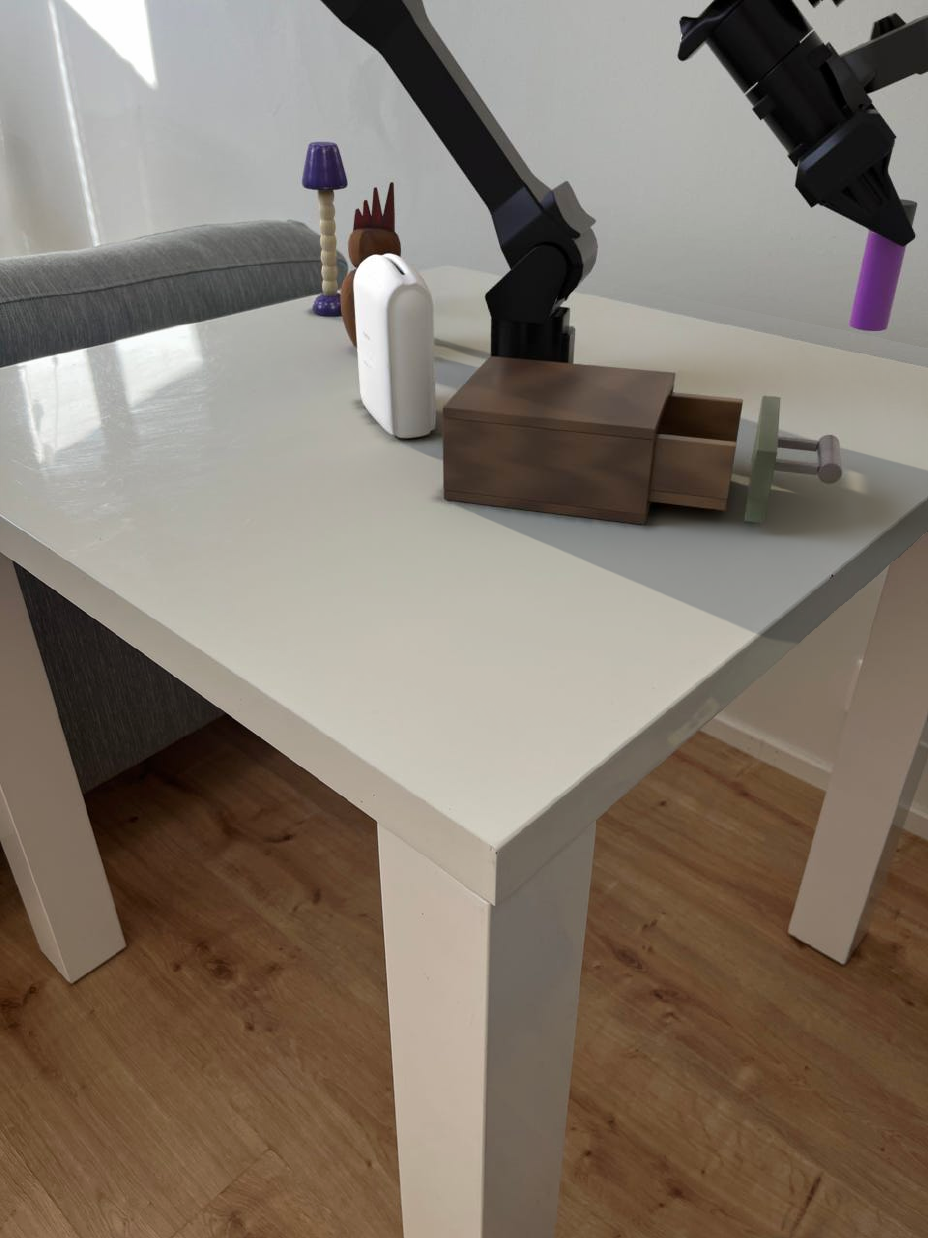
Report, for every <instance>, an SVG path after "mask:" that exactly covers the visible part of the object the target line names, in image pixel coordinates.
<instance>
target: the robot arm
mask: <svg viewBox="0 0 928 1238" xmlns="http://www.w3.org/2000/svg"><path fill="white" fill-rule="evenodd" d="M319 1H320V2H321V3H322V4H323V5H324V6H325V7H326V8H327V10H329V11H330V12H331V13H332V14H333V15H334V16H335V17H336V18H337V20H338V21H340V22H341V23H342V24H343V25H344V26H345V27H347V28H348V29H349V30H350V31H352V32H353V33H354V34H355V35H357V36H358V37H359V38H361V39H362V40H363V41H364V42H365V43H367V44H368V45H369V46H371V47H372V48H373V49H375V50H376V51H377V52H378V53H379V55H380V56H381V57H382V58H383V59H384V61H385V62H386V64H387V65H388V66H389V69H391V71H392V73H393V74H394V75H395V77H396V78H397V79H398V81H399V82H400V84H401V85H402V87H403V88H404V90H405V91H406V93H407V94H408V96H409V97H410V98H411V99H412V102H413V103H414V104H415V105H416V107H417V108H418V110H419V111H420V113H421V114H422V115H423V117H424V118H425V120H426V121H427V123H428V124H429V126H430V127H431V129H432V130H433V131H434V133H435V134H436V135H437V137H438V138H439V140H440V141H441V143H442V144H443V145H444V147H445V148H446V150H447V151H448V153H449V154H450V156H451V157H452V158H453V160H454V162H455V163H456V164H457V166H458V167H459V169H460V170H461V172H462V173H463V175H464V176H465V178H466V179H467V181H468V182H469V183H470V185H471V186H472V187H473V189H474V190H475V192H476V193H477V194H478V196H479V198H480V199H481V200H482V202H483V204H485V206H486V208H487V209H488V212H489V214H490V218H491V221H492V223H493V227H494V230H495V234H496V237H497V241H498V244H499V248H500V250H501V253H502V255H503V257H504V259H505V261H506V263H507V265H508V267H509V269H510V270H509V271H507V273H505V275H504V276H502V277H501V278H500V279H499V280H498V281H497V282H496V283H495V284H494V285H493V286H491V288H490V289H489V290H488V291H487V292H486V293H485V295H484V300H485V303H486V306H487V310H488V312H489V315H490V356H493V357H504V358H515V359H527V360H538V361H549V362H561V363H572V364H574V360H575V346H576V345H575V344H576V327H575V326H573V325H570V321H571V320H570V317H571V307H569V306H568V307H567V306H561V305H563V304H564V303H565V302H567V301H568V300H569V298H570V295H571V294H572V293H573V292H574V291H575V290H576V289H577V288H578V287H579V286H580V285H581V284H582V282H583V281H584V280H585V279H586V278H587V277H588V276H589V275H590V273H591V272H592V270H593V268H594V266H595V264H596V262H597V257H598V248H599V245H598V239H597V237H596V234H595V232H594V230H593V229H592V227H593V226H594V225H595V224H596V223H597V220H596V218H595V217H593V216H591V215H590V214H588V213H587V212H586V211H585V210H584V208H583V207H582V205H581V203H580V202H579V200H578V198H577V195H576V192H575V191H574V188H573V187H572V185H571V183H570V182H569V181H568V180H565V181H563V182H562V183H560V184H559V185H557V186H556V187H554V188H552V189H551V187H549V186H548V185H547V184H546V183H544V182H542V181H541V180H540V179H539V178H538V177H537V176H535V174H534V173H533V172H532V171H531V169H530V167H528V165H527V164H526V163H527V162H525V160H524V159H523V158H522V156H521V154H520V153H519V151H518V150H517V149H516V147H515V146H514V143H513V142H512V141H511V140H510V138H509V137H508V135H507V134H506V132H505V131H504V130H503V127H502V126H501V125H500V123H499V122H498V120H497V119H496V117H495V116H494V114H493V113H492V112H491V110H490V109H489V107H488V105H487V104H486V103H485V101H484V100H483V98H482V96H481V95H480V94H479V92H478V91H477V89H476V87H475V86H474V85H473V83H472V82H471V81H470V79H469V77H468V76H467V75H466V73H465V72H464V70H463V69H462V67H461V66H460V64H459V62H458V61H457V59H456V58H455V56H454V55H453V54H452V52H451V50H450V49H449V48H448V46H447V45H446V44H445V42H444V40H443V39H442V37H441V36H440V34H439V32H438V31H437V30H436V29H435V27H434V26H433V24H432V22H431V20H430V19H429V17H428V15H427V12H426V8H425V4H424V1H423V0H319ZM807 1H808V3H809V4H810V6H811V7H812V8H813V9H815V8H816V7H818V6H819V5H820V4H821V2H824V0H807ZM845 1H846V0H831V2H832V3H833V5H834V6H835V8H838V7H839V6H840V5H842V4H843V3H844V2H845ZM678 23H679V28H680V29H679V30H680V39H679V46H678V51H677V59H678V60H679V61H680V62H686V61H688V60H690V59H691V58H693V57H694V56H695V55H696V54H697V53H698V52H699V51H700V49H702V48H703V47H704V46H705V45H706V46H707V48H709V49H710V51H711V52H712V54H713V55H714V56H715V58H716V59H717V60H718V61H719V63H720V64H721V65H722V67H723V69H725V71H726V72H727V74H728V75H729V76H730V77H731V79H732V80H733V81H734V83H735V84H736V85H737V87H738V88H739V89H740V90H741V92H742V93H743V94H744V96H745V97H746V99H747V101H748V102H749V103H750V104H751V105H752V108H751V110H752V111H753V113H754V114H755V115H756V116H757V118H758V119H759V121H762V120H763V122H764V123H765V124H766V126H767V127H768V128H769V129H770V131H771V132H772V133H773V135H774V136H775V137H776V138H777V140H778V141H779V143H780V144H781V145H782V146H783V148H784V149H785V151H786V152H787V158H788V159H789V161H791V163H792V164H793V166H794V167H795V168H796V173H795V179H794V187H795V188H796V190H797V191H798V193H800V195H801V196H802V198H803V200H804V201H805V202H806V203H807V204H808V205H809V207H810V208H811V209H813V208H814V207H815V206H817V205H819V206H820V207H824V208H826V209H828V210H830V211H832V212H834V213H836V214H838V215H840V216H841V217H844V218H845V219H848V220H850V221H852V222H853V223H856V224H857V225H860V226H861V227H863V228H865V229H867V230H868V229H869V230H871V231H873V232H875V233H877V234H879V235H881V236H883V237H884V238H886V239H888V240H890V241H892V242H894V243H896V244H898V245H900V246H902V247H903V246H906V247H907V245H908V244H910V243H911V242H912V241H914V240H915V239H916V236H917V235H916V232H915V230H914V227H913V225H911V223H910V221H909V219H908V216H907V214H906V212H905V210H904V207H903V205H902V203H901V200H900V199H901V198H900V196H899V193H898V191H897V189H896V187H895V184H894V182H893V180H892V178H891V175H890V172H889V166H890V162H891V158H892V154H893V151H894V150H893V149H894V148H895V144H896V139H897V135H896V134H895V132H894V131H893V130H892V128H891V127H890V126H889V124H888V123H887V122H886V120H885V119H884V117H883V116H882V114H881V113H880V112H879V110H878V109H877V108H876V107H875V105H874V103H873V100H872V98H871V97H870V96H869V94H872V93H874V92H877V91H880V90H882V89H884V88H887V87H888V86H890V85H891V86H892V85H893V84H895V83H897V82H900V81H903V80H905V79H907V78H909V77H911V76H913V75H914V76H915V75H916V74H917V75H920V76H921V75H924V74H927V73H928V14H926V15H923V16H920V17H917V18H914V19H913V20H912V21H909V22H905V20H903V18H902V17H901V16H900V15H899V14H898V13H897V12H893V13H891V14H889V15H886V16H883V17H882V18H879V19H878V20H876V21H873V22H872V26H871V30H870V34H869V39H868V40H867V41H865V42H863V43H861V44H858V45H857V46H855V47H853V48H850V49H849V50H846V51H845V52H843V53H840V54H839V52H837V50H836V49H835V48H834V46H833V45H832V44H831V42H830V41H828V42H826V44H825V42H824V41H823V40H822V39H821V37H820V36H819V35H818V33H817V31H815V29H814V27H813V26H812V25H811V23H810V22H809V21H808V19H807V18H806V16H805V15H804V13H803V12H802V11H801V10H800V8H799V6H797V4H796V3H795V1H794V0H713V1H711V3H709V4H708V5H707V7H705V8H704V10H703V11H701V13H699V14H698V16H697V17H696V16H693V17H692V16H689V15H683V16H681V17H680V18H679V21H678ZM869 230H868V231H869Z"/></svg>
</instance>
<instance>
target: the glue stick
mask: <svg viewBox="0 0 928 1238" xmlns="http://www.w3.org/2000/svg"><path fill="white" fill-rule="evenodd" d="M900 200H901V203H902V205H903V207H904V210H905V212H906V214H907V216H908V219H909V221H910V223H911V225H912V226H913V225H914V221H915V216H916V212H917V208H918V202H917V201H914V200H909V199H903V198H900ZM867 230H868V233H867V237H866V241H865V247H864V252H863V256H862V261H861V266H860V271H859V274H858V275H859V276H858V279H857V284H856V290H855V293H854V299H853V304H852V308H851V314H850V318H849V322H848V325H849V327H851V328H853V329H855V330H859V331H866V332H881V331H885V330H887V329H888V327H889V326H888V325H889V323H890V319H891V314H892V309H893V305H894V301H895V297H896V292H897V287H898V283H899V278H900V275H901V271H902V266H903V263H904V262H903V261H904V257H905V253H906V249H907V245H906V246H903V247H902V246H900V245H898V244H896V243H894V242H892V241H890V240H888V239H886V238H884V237H883V236H881V235H879V234H877V233H875V232H873V231H871V230H869V229H867Z"/></svg>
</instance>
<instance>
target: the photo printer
mask: <svg viewBox="0 0 928 1238" xmlns="http://www.w3.org/2000/svg"><path fill="white" fill-rule="evenodd" d="M356 269H357V268H356ZM354 302H355V320H356V336H357V348H356V349H357V351H356V353H357V364H358V365H357V366H358V379H359V392H360V398H361V401H362V405H363V406H364V407H365V408H366V411H368V412H369V414H370V415H371V416H372V417H373V419H374V420H375V421H376V422H377V423H378V424H379V425H380V426H381V427H382V428H383V429H384V430H385V431H386V432H387V433H388V434H390V435H391V436H396V437H397V438H400V439H413V438H420V437H424V436H427V435H430V433H431V431H434V430H435V429H436V425H437V424H436V422H437V412H436V411H437V409H436V408H437V407H436V406H437V405H436V367H435V366H436V365H435V363H436V362H435V323H434V322H435V321H434V320H435V315H434V312H435V311H434V301H433V296H432V293H431V290H430V288H429V286H428V284H427V282H426V281H425V279H424V278H423V276H422V275H421V274H420V272H419V271H418V270H417V269H416V267H414V265H413V264H411V263H410V262H409V261H408V260H406V259H404V258H403V257H402V256H401V257H399V256H397V255H394V254H384V255H372V256H370V257H368V258H367V259H365V260H364V261H363V262H362V263H361V264H360V266H359V267H358V269H357V271H356V274H355V277H354Z"/></svg>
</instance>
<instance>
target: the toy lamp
mask: <svg viewBox="0 0 928 1238" xmlns="http://www.w3.org/2000/svg"><path fill="white" fill-rule="evenodd" d="M341 155H342V154H341V152H340V148H339V146H338V144H337V143H336V142H333V141H332V142H331V141H313V142H309V143H308V145H307V149H306V153H305V159H304V163H303V164H304V165H303V171H302V177H301V185H302V187H303V188H304V189H307V190H312V191H317V200H318V203H319V205H318V216H319V218H320V221H319V231H320V234H321V235H320V239H319V243H320V244H319V245H320V247H321V252H320V261H321V264H322V266H321V277H322V282H321V288H322V293H321V294H319V295H318V296H317V297H315V299H314V300H313V303H312V308H311V309H312V312H313V314H316V315H320V316H327V317H332V316H342V312H341V292H338V290H339V284H338V281H337V278H338V267H337V262H338V253H337V250H336V248H337V245H338V243H337V242H338V241H337V237H336V234H335V233H336V230H337V225H336V221H335V216H336V207H335V205H334V202H335V191H338V190H343V189H344V190H345V189H346V188H347V187H348V185H349V184H348V183H349V182H348V177H347V174H346V170H345V166H344V162H343V159H342V156H341Z"/></svg>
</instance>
